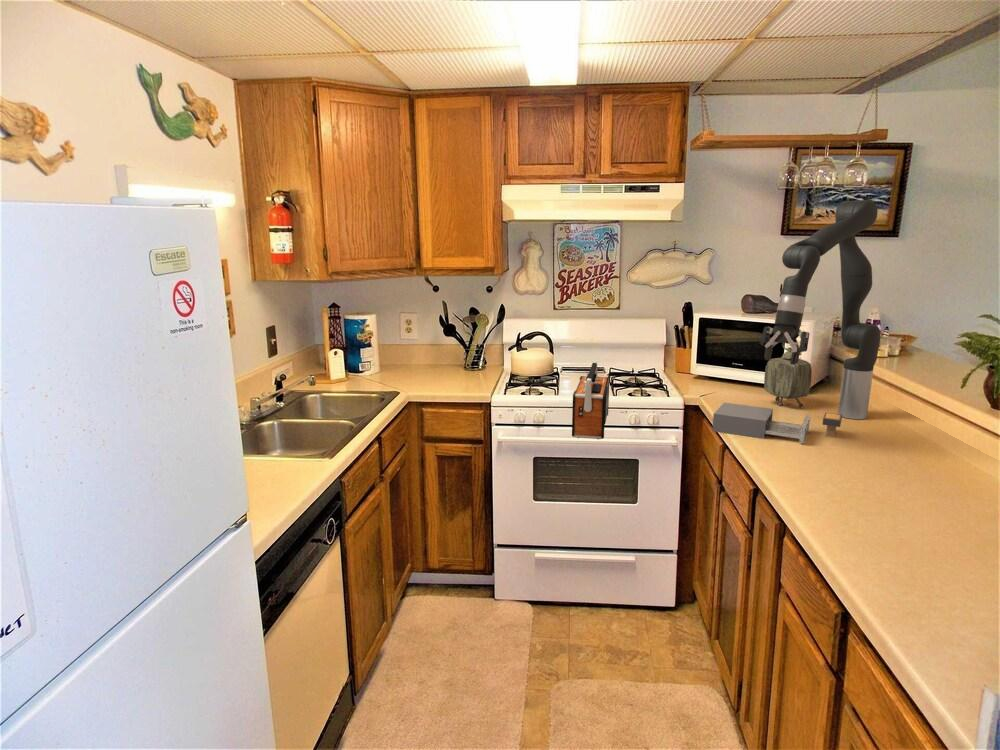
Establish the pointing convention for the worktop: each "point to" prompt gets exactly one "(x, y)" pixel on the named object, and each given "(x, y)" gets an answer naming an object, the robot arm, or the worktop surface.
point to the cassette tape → (832, 419)
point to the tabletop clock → (788, 378)
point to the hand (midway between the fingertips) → (779, 362)
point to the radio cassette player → (590, 405)
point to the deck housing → (741, 420)
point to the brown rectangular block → (831, 431)
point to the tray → (789, 429)
